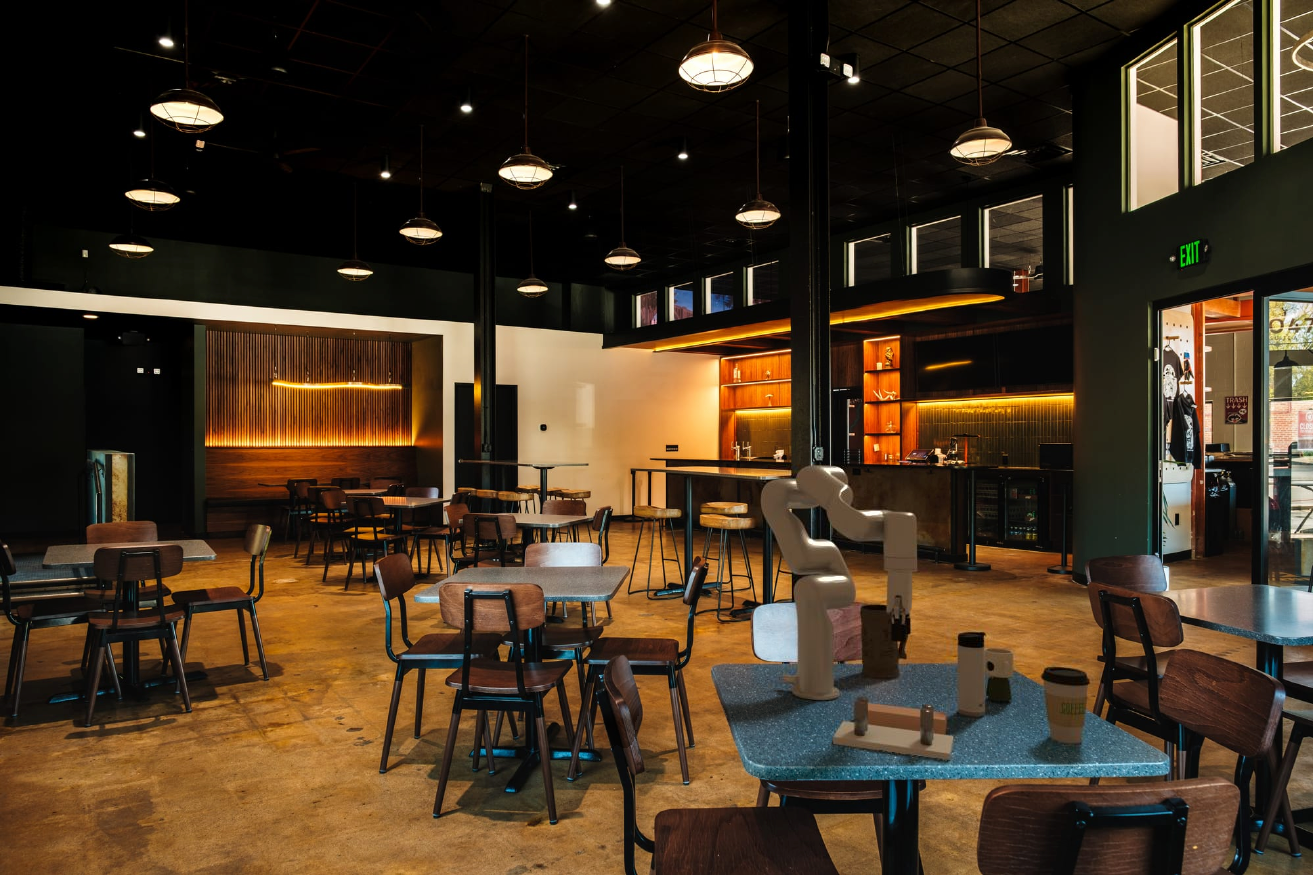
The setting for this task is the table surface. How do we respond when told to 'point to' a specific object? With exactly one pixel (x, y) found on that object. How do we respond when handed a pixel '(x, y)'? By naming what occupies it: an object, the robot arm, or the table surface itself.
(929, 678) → the table surface
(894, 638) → the robot arm
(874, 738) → the peg base
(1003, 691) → the character mug
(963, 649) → the travel mug
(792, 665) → the table surface
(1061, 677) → the coffee cup
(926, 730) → the steel pegs
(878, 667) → the beer stein
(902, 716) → the shelf board
